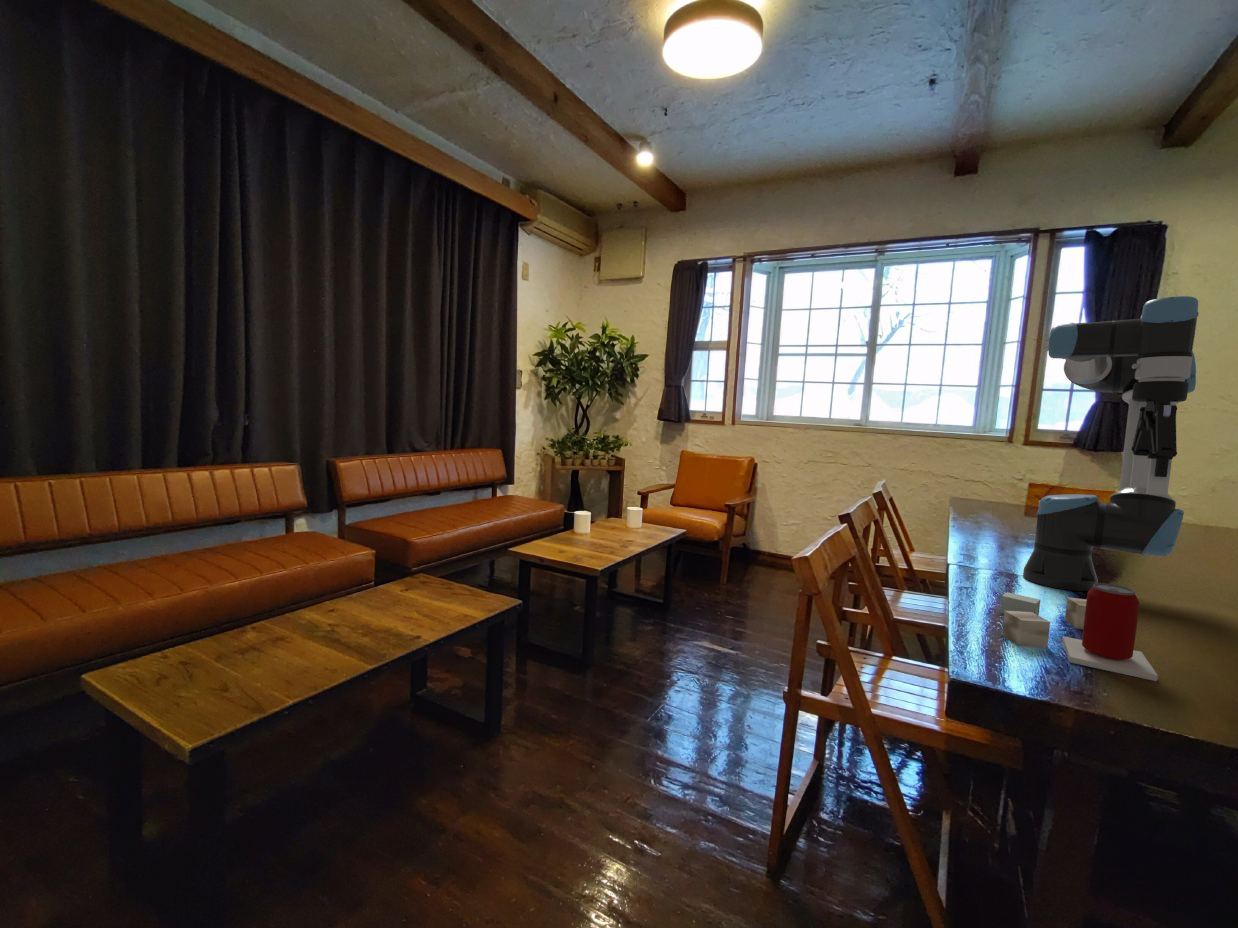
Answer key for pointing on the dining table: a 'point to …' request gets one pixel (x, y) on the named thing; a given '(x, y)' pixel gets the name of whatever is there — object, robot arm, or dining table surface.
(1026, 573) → the robot arm
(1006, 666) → the dining table surface
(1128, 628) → the beverage can
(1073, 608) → the beech block
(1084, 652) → the plate
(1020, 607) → the sage block
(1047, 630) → the maple block
